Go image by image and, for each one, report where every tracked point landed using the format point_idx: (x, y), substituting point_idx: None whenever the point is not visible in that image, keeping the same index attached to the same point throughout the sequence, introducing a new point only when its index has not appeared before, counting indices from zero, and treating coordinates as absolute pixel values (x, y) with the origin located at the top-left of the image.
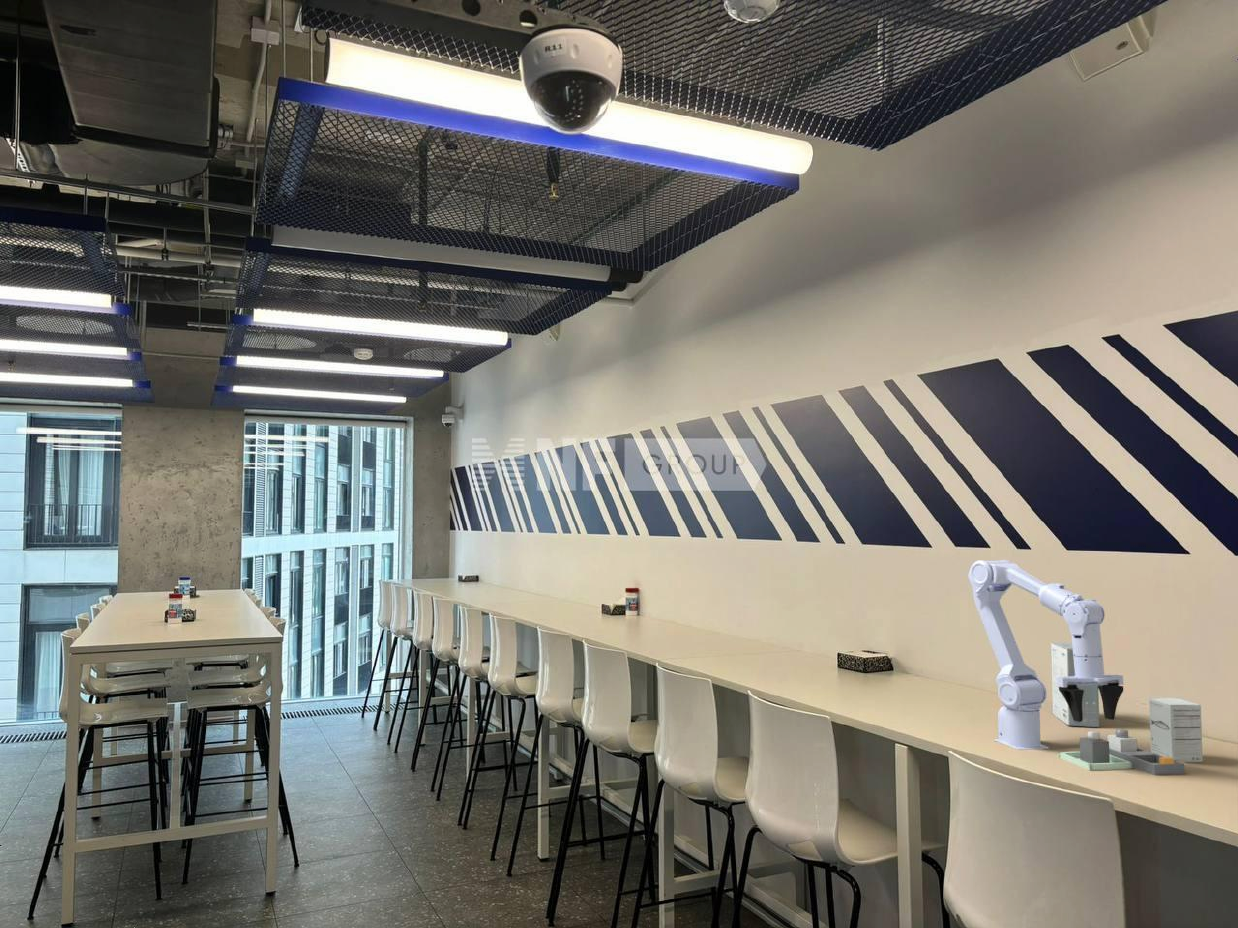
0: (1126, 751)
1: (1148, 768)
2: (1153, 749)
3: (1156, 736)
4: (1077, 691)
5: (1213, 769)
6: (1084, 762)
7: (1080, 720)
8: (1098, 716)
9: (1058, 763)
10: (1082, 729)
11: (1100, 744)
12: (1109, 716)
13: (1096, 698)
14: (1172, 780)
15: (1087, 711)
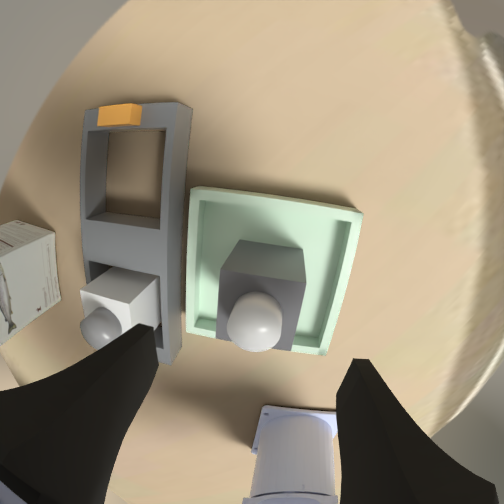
0: (131, 280)
1: (182, 131)
2: (53, 296)
3: (29, 299)
4: (486, 499)
5: (28, 163)
6: (357, 240)
7: (367, 362)
8: None
9: (355, 317)
10: None
11: (264, 271)
12: (148, 349)
13: None
14: (170, 76)
15: None
